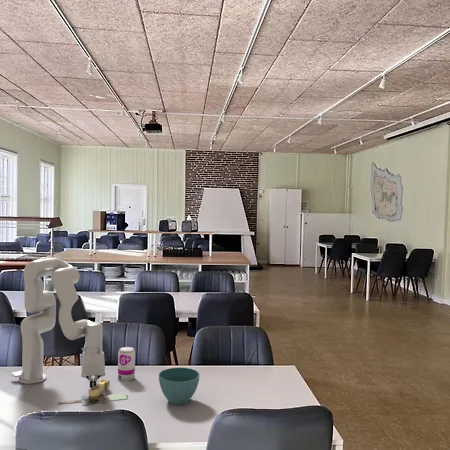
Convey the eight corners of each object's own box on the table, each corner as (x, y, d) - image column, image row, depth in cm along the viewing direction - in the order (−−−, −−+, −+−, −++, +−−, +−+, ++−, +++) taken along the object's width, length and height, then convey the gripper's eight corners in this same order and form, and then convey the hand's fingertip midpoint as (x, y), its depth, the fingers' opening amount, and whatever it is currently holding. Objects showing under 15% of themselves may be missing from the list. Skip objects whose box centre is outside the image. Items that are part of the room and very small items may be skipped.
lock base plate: (82, 405, 213) (82, 405, 213) (81, 396, 222) (81, 396, 222) (106, 403, 216) (106, 402, 216) (103, 394, 226) (103, 393, 226)
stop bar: (96, 401, 217) (96, 392, 217) (86, 400, 217) (86, 391, 217) (109, 388, 232) (109, 379, 232) (100, 387, 232) (100, 379, 232)
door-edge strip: (58, 404, 213) (58, 404, 213) (57, 402, 215) (57, 402, 215) (127, 397, 224) (127, 396, 224) (127, 395, 225) (127, 395, 225)
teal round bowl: (182, 413, 209) (183, 384, 208) (149, 402, 219) (150, 375, 218) (206, 399, 224) (207, 372, 224) (174, 390, 234) (175, 364, 233)
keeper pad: (109, 401, 219) (109, 400, 219) (107, 395, 224) (107, 395, 224) (127, 399, 221) (127, 398, 221) (125, 394, 227) (125, 393, 227)
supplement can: (130, 382, 242) (131, 352, 242) (115, 380, 244) (115, 350, 243) (137, 376, 250) (137, 347, 250) (121, 374, 252) (122, 345, 251)
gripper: (76, 352, 221) (75, 393, 222) (110, 351, 225) (109, 391, 226) (77, 348, 228) (76, 387, 229) (110, 346, 232) (109, 385, 233)
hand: (92, 388), depth 227 cm, fingers closed
